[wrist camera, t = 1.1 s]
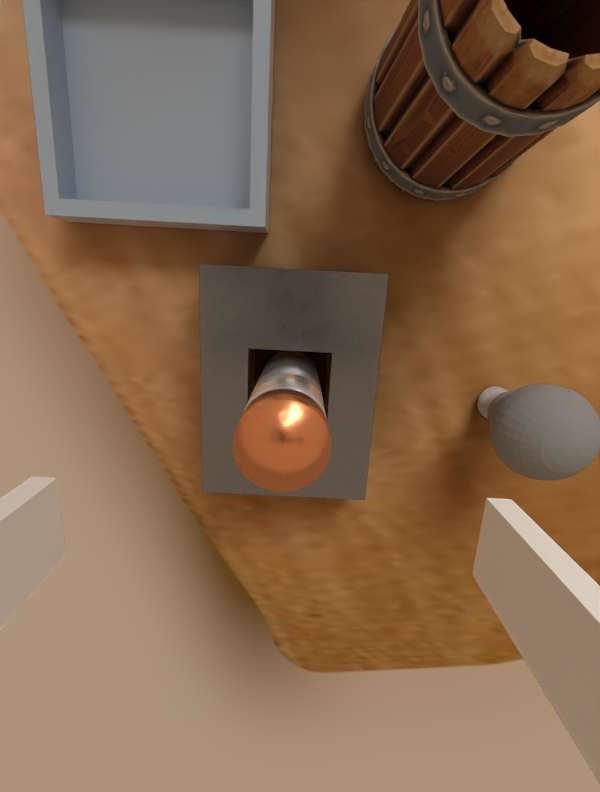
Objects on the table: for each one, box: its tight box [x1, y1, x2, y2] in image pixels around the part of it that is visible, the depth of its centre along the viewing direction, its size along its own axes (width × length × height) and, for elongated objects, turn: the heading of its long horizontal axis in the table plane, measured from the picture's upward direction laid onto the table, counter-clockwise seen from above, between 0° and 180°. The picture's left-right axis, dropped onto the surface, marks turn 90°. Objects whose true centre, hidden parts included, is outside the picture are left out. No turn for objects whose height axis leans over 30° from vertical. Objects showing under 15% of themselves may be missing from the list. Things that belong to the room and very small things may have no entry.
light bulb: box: [477, 384, 600, 480], centre depth 27 cm, size 6×6×10 cm
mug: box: [364, 0, 600, 201], centre depth 19 cm, size 16×11×15 cm
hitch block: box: [199, 264, 389, 500], centre depth 29 cm, size 16×12×4 cm
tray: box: [22, 0, 276, 233], centre depth 25 cm, size 14×14×3 cm
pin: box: [232, 350, 331, 492], centre depth 25 cm, size 4×4×14 cm
